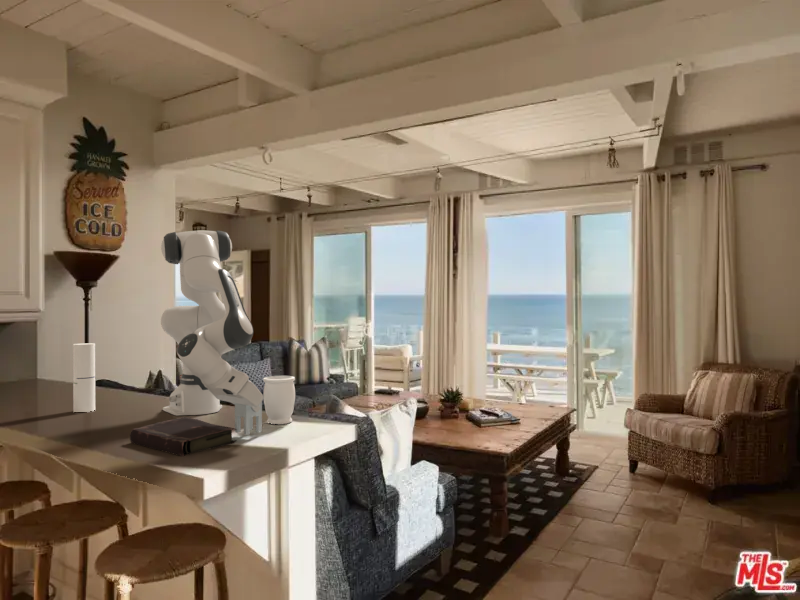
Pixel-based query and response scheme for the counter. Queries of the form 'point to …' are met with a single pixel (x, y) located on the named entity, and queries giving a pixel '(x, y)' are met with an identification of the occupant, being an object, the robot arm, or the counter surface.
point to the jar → (279, 398)
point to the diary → (182, 436)
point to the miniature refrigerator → (84, 377)
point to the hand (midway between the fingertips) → (250, 408)
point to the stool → (247, 418)
